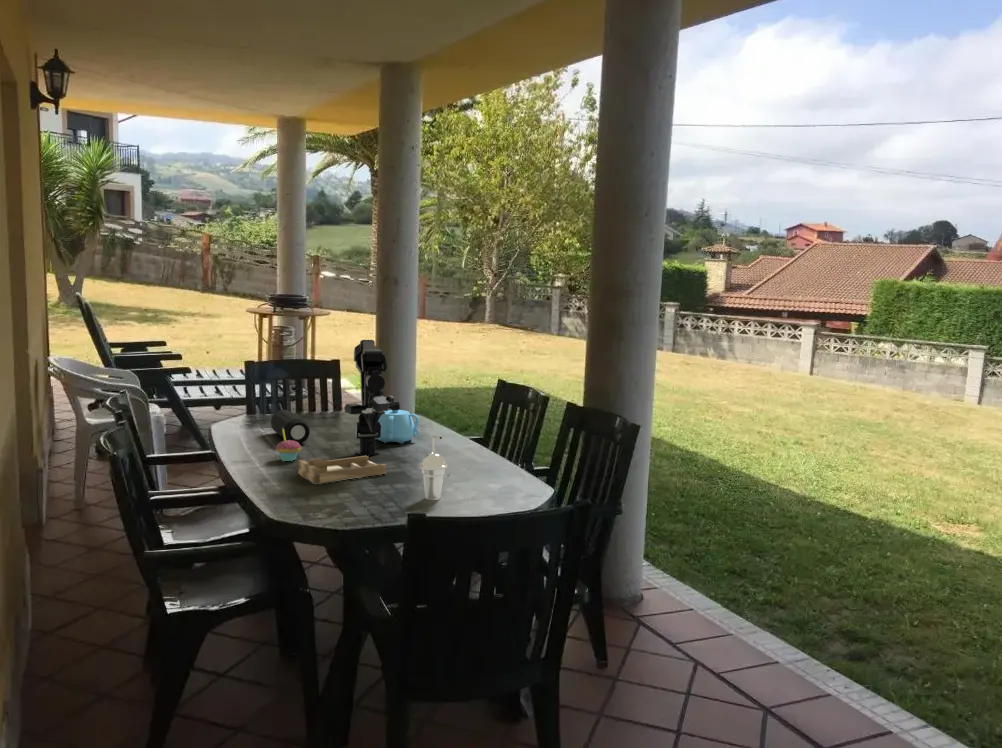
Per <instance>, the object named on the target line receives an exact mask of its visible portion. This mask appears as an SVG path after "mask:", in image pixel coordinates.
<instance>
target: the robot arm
mask: <svg viewBox="0 0 1002 748" xmlns="http://www.w3.org/2000/svg"><path fill="white" fill-rule="evenodd" d="M375 343H376V342H375V340H373V339H362V340H360V341H359V343H358V344H357V345H356V346H355V347H354V350H353V361H354V362H355V368H356V369H357V371H358V372H359V374H360V375H359V377H360V396H361V397H360V398H361V399H360V401H361V403H360V404H359V403H356V402H354V403H346V404H345V405H344V412H345V413H347V414H349V415H359V416H358V418H357V422H356V423H355V430H354V431H355V433H354V434H355V438H356V439H357V440H358V439H359V450H356V451H355V453H356V454H358V455H360V456H367V455H368V456H374V455H380V452H378V451H376V439H377V438H379V437H381V425H380V422H378V420H379V418H380V416H381V415H382V414H385V412H384V411H388V410H393V411H394V410H401V403H400V402H399V401H397V400H395V397H394V396H393V395H387V396H384V391H383V389H384V387H385V385H386V381H385V378H384V377H383V376H382V372H383V373H385V372H386V370H387V369H388V363H387V357H386V356H385V355H386V354H385V353H383V351H382V350H381V349H378V346H377V345H376V344H375Z"/></svg>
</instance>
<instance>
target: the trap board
mask: <svg viewBox="0 0 1002 748" xmlns="http://www.w3.org/2000/svg"><path fill="white" fill-rule="evenodd" d="M369 456H370V455H368V456H362V455H360V456H354V457H353V456H352V457H345V458H338V459H331V460H329V459H328V460H326V461H327V472H321V473H320V469H319V468H317V467H315V466H313V465H312V464H310V463H308V461H306V460H305V459H298V461H297V463H298V464H297V465H298V466H297V467H298V468H297V472H298V473H297V474H300V475H301V476H303V477H305V478H307V479H309V480H310V481H312V482H314V483H322V482H327V481H333V480H341V479H348V478H356V477H364V476H373V475H379V476H383V475H382V474H386V475H387V464H386V463H380V464H377V463H375V462H373V461H371V460H369V459H370V458H369ZM365 465H366V466H365ZM361 466H364V467H361ZM344 468H350V469H344ZM301 476H300V477H301ZM303 477H302V478H303ZM373 477H374V476H373Z"/></svg>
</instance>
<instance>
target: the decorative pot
mask: <svg viewBox="0 0 1002 748" xmlns="http://www.w3.org/2000/svg"><path fill="white" fill-rule="evenodd" d="M384 412H385V414H382V415H381V416H380V418H379V420H378V422H380V425H381V437H379V438H376V439H377V440H378V441H380V442H381V443H382V442H384V443H383V444H387V442H388V443H391V442H393V443H396V442H397V444H398V443H400V444H401V443H402V444H403V443H404V444H405V442H409V441H410V440H412V439H413V437H414V436H417V437H418V436H419V435H420V433H421V430H420V429H418V426H419V423H420V418H419V416H418V415H417V414H416V413H410V411H408V410H403V409H400V410H394V411H393V410H391V409H388V411H384ZM413 417H414V418H415V423H414V419H413ZM416 431H417V432H416ZM402 444H401V445H402Z"/></svg>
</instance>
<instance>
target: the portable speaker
mask: <svg viewBox="0 0 1002 748" xmlns="http://www.w3.org/2000/svg"><path fill="white" fill-rule="evenodd" d="M270 419H271V420H270V426H271V428H272V430H273V431H274V432H275V433H276V434H277V435H279V436H280V437H282V438H283V439H284V437H283V431H282V429H284V431H285V437H286V441H287V440H291V441H292V440H293V441H296V442H298V443H299V444H300V443H301V444H303V443H305V442H306V441H307V440H308V438H309V436H310V433H311V429H310V425H309V423H308V422H306V420H304V419H302V418H300V417H299V416H297V415H296V414H294V413H293V412H291V410H290V411H289V410H287V409H280V410H277V411H276V412H275V413H274V414H273V415H272V416H271V418H270ZM282 427H283V428H282Z"/></svg>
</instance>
